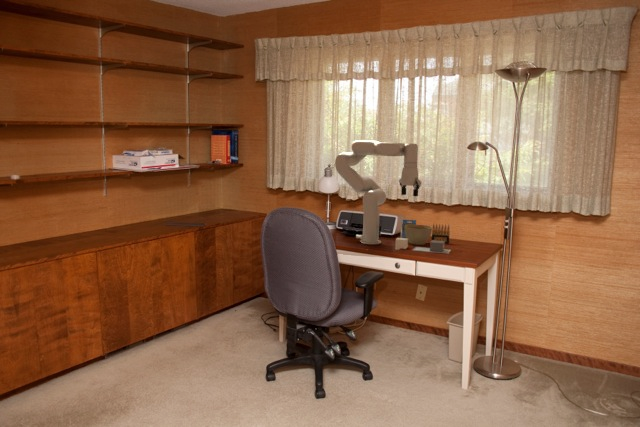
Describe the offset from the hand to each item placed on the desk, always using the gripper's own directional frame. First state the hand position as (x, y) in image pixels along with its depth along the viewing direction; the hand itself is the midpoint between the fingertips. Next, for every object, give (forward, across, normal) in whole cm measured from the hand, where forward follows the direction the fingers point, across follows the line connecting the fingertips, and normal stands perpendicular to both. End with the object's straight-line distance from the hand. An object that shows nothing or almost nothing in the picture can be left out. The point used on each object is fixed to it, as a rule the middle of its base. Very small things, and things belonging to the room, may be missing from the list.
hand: (409, 195), depth 323 cm
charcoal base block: (+30, +17, +6) cm, 35 cm away
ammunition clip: (+31, -1, +28) cm, 42 cm away
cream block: (+30, +1, -6) cm, 31 cm away
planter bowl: (+31, -4, +12) cm, 33 cm away
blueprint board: (+31, +15, +4) cm, 34 cm away
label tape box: (+30, -22, +21) cm, 43 cm away
